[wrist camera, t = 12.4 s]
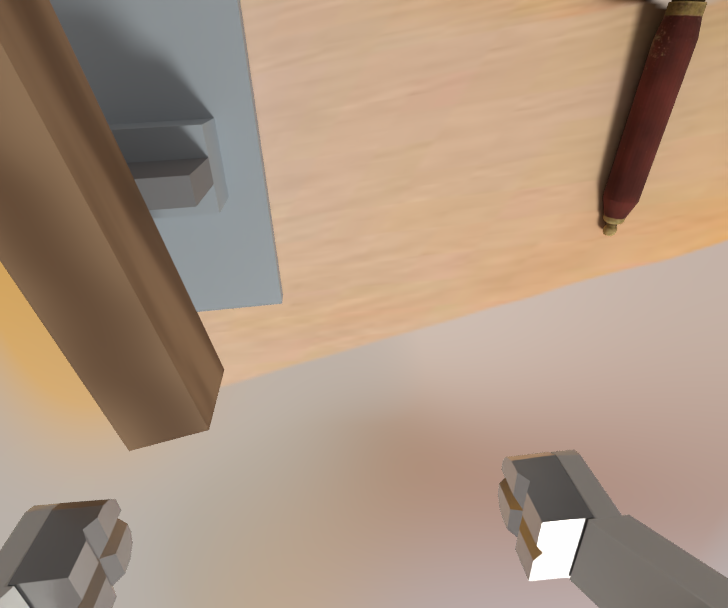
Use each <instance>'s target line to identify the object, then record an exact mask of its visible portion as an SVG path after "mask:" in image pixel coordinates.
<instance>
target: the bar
mask: <svg viewBox="0 0 728 608" xmlns="http://www.w3.org/2000/svg"><path fill="white" fill-rule="evenodd" d="M0 261H1V263H2V264H3V265H4V267H5V269H6V270H7V272H8V273H9V274H10V276H11V277H12V279H13V280H14V282H15V283H16V285H17V286H18V288H19V289H20V290H21V292H22V294H23V295H24V296H25V298H26V300H27V301H28V302H29V304H30V305H31V307H32V308H33V310H34V311H35V313H36V314H37V316H38V317H39V319H40V320H41V322H42V323H43V325H44V326H45V327H46V329H47V330H48V332H49V333H50V335H51V336H52V338H53V339H54V341H55V342H56V344H57V345H58V347H59V348H60V350H61V351H62V353H63V354H64V356H65V357H66V359H67V360H68V361H69V363H70V364H71V366H72V367H73V369H74V370H75V372H76V373H77V375H78V376H79V378H80V379H81V381H82V382H83V384H84V385H85V386H86V388H87V389H88V391H89V392H90V394H91V395H92V397H93V398H94V400H95V401H96V403H97V404H98V406H99V407H100V408H101V410H102V412H103V413H104V415H105V416H106V417H107V419H108V420H109V422H110V423H111V425H112V426H113V428H114V429H115V431H116V432H117V434H118V435H119V437H120V438H121V440H122V441H123V443H124V444H125V445H126V447H127V448H128V450H129V451H131V450H135V449H139V448H142V447H146V446H150V445H154V444H158V443H161V442H165V441H169V440H173V439H176V438H180V437H184V436H187V435H192V434H195V433H199V432H203V431H207V430H209V427H210V423H211V420H212V416H213V412H214V408H215V404H216V400H217V396H218V392H219V388H220V384H221V380H222V376H223V372H224V368H223V366H222V364H221V362H220V360H219V358H218V355H217V353H216V351H215V349H214V347H213V345H212V343H211V341H210V339H209V336H208V334H207V332H206V330H205V328H204V326H203V324H202V322H201V320H200V317H199V315H198V313H197V311H196V309H195V307H194V305H193V303H192V301H191V298H190V296H189V294H188V292H187V290H186V288H185V286H184V284H183V282H182V279H181V277H180V275H179V273H178V271H177V269H176V267H175V265H174V262H173V260H172V258H171V256H170V254H169V252H168V250H167V248H166V246H165V243H164V241H163V239H162V237H161V235H160V233H159V231H158V229H157V227H156V224H155V222H154V220H153V218H152V216H151V214H150V212H149V210H148V208H147V205H146V203H145V201H144V199H143V197H142V195H141V193H140V191H139V189H138V186H137V184H136V182H135V180H134V178H133V176H132V174H131V172H130V169H129V167H128V165H127V163H126V161H125V159H124V157H123V155H122V153H121V150H120V148H119V146H118V144H117V142H116V140H115V138H114V136H113V134H112V131H111V129H110V127H109V125H108V123H107V121H106V119H105V117H104V115H103V112H102V110H101V108H100V106H99V104H98V102H97V100H96V98H95V96H94V93H93V91H92V89H91V87H90V85H89V83H88V81H87V79H86V76H85V74H84V72H83V70H82V68H81V66H80V64H79V62H78V60H77V57H76V55H75V53H74V51H73V49H72V47H71V45H70V43H69V41H68V38H67V36H66V34H65V32H64V30H63V28H62V26H61V24H60V22H59V19H58V17H57V15H56V13H55V11H54V9H53V7H52V5H51V2H50V0H0Z"/></svg>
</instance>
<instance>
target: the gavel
mask: <svg viewBox="0 0 728 608" xmlns="http://www.w3.org/2000/svg"><path fill="white" fill-rule="evenodd" d="M706 5H707V2H705V0H672V2H669V3H668V6H667V9H666V12H665V15H664V18H663V20H662V22H661V24H660V26H659V28H658V30H657V32H656V34H655V36H654V38H653V41H652V45H651V48H650V51H649V54H648V57H647V60H646V63H645V66H644V69H643V73H642V76H641V79H640V82H639V85H638V88H637V91H636V94H635V97H634V101H633V104H632V107H631V110H630V113H629V116H628V119H627V122H626V126H625V129H624V132H623V135H622V138H621V141H620V144H619V147H618V150H617V154H616V157H615V160H614V163H613V166H612V169H611V172H610V175H609V178H608V182H607V185H606V188H605V191H604V194H603V203H604V215H603V220H604V221H605V222H607V223H606V225H605V226H604V228H603V234H605V235H607V236H613V235H614V234H615V233H616V231H617V224H622V223H623V222H624V220H625V218H626V217H627V215H628V214H629V213H630V212H631V210H632V209H633V208H634V207H635V205H636V204H637V203H638V202H639V199H640V196H641V194H642V191H643V188H644V185H645V183H646V180H647V177H648V174H649V172H650V169H651V166H652V163H653V161H654V158H655V155H656V152H657V150H658V147H659V144H660V142H661V139H662V136H663V133H664V131H665V128H666V125H667V122H668V120H669V117H670V114H671V111H672V109H673V106H674V103H675V100H676V98H677V95H678V92H679V90H680V87H681V84H682V81H683V79H684V76H685V73H686V70H687V68H688V65H689V62H690V59H691V57H692V54H693V51H694V49H695V46H696V43H697V40H698V36H699V31H700V26H701V21H702V16H703V13H704V10H705V8H706Z"/></svg>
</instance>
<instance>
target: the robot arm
mask: <svg viewBox="0 0 728 608" xmlns="http://www.w3.org/2000/svg"><path fill="white" fill-rule="evenodd" d="M502 471H503V474H504V475H505V479H503V481H502V482H500V483H499V491H498V497H499V506H500V510H501V514H502V518H503V520H504V523H505V525H506V528H507V529H508V530H509V531H510V532H511V533H513V534H514V535H515V536H516V537H518V538H517V543H516V549H515V550H516V552H517V554H518V556H519V559H520V561H521V564H522V566H523V569H524V571H525V573H526V576H527V578H528V580H529V581H533V580H544V579H555V578H565V577H570V580H571V581H572V582H573V583H574V584H575V585H576V586H577V587H578V588H579V589H580V590H581V591H582V592H583V593H584V594H585V595H586V596H587V597H589V598H590V599H591V600H592V601H593V602H594V603H595V604H596V605H597V606H598V607H599V608H728V578H726V577H725V576H723V575H722V574H720V573H718V572H717V571H715V570H714V569H713V568H711V567H709V566H708V565H706V564H705V563H703V562H702V561H700V560H699V559H697V558H695V557H694V556H692V555H691V554H689V553H688V552H686V551H685V550H683V549H682V548H680V547H678V546H677V545H675V544H674V543H672V542H671V541H669V540H668V539H666V538H664V537H663V536H661V535H660V534H658V533H656V532H655V531H653V530H652V529H650V528H649V527H647V526H646V525H644V524H643V523H641V522H640V521H638V520H636V519H635V518H633V517H632V516H630V515H621V513H620V512H619V511H618V509H617V507H616V506H615V504H614V503H613V502H612V500H611V499H610V497H609V496H608V494H607V493H606V491H605V490H604V489H603V487H602V486H601V484H600V483H599V482H598V480H597V478H596V477H595V476H594V474H593V473H592V471H591V470H590V468H589V467H588V465H587V464H586V463H585V461H584V460H583V458H582V457H581V455H580V454H579V453H578V452H577V451H575V450H566V451H556V452H544V453H535V454H527V455H518V456H510V457H506V458H505V459H504V460H503V464H502ZM120 512H121V509H120V507H119V505H118V503H117V501H116V499H108V500H95V501H84V502H83V501H82V502H70V503H59V504H48V505H37V506H33V507H32V508H30V509H29V510H28V511H27V512H26V513H25V514H24V515H23V516H22V518H21V520H20V521H19V523H18V524H17V526H16V527H15V529H14V530H13V532H12V533H11V535H10V537H9V538H8V540H7V541H6V542H5V544H4V546H3V547H2V549H1V550H0V608H112V607H113V605H114V602H115V599H116V594H115V591H114V588H113V585H114V584H115V583H116V582H117V581H118V580H119V579H120V578H121V577H122V576H123V575H124V574H125V573H126V570H127V567H128V564H129V561H130V557H131V551H132V543H133V542H132V535H131V530H130V528H129V526H128V524H127V523H125V522H123V521H122V520H120V519H118V516H119V514H120Z"/></svg>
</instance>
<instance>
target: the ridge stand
mask: <svg viewBox="0 0 728 608" xmlns="http://www.w3.org/2000/svg"><path fill="white" fill-rule="evenodd" d="M50 2H51V5H52V7H53V9H54V11H55V13H56V15H57V17H58V19H59V22H60V24H61V26H62V28H63V30H64V32H65V34H66V36H67V38H68V41H69V43H70V45H71V47H72V49H73V51H74V53H75V55H76V57H77V60H78V62H79V64H80V66H81V68H82V70H83V72H84V74H85V76H86V79H87V81H88V83H89V85H90V87H91V89H92V91H93V93H94V96H95V98H96V100H97V102H98V104H99V106H100V108H101V110H102V112H103V115H104V117H105V119H106V121H107V123H108V125H109V127H110V129H111V131H112V134H113V136H114V138H115V140H116V142H117V144H118V146H119V148H120V150H121V153H122V155H123V157H124V159H125V161H126V163H127V165H128V167H129V169H130V172H131V174H132V176H133V178H134V180H135V182H136V184H137V186H138V189H139V191H140V193H141V195H142V197H143V199H144V201H145V203H146V205H147V208H148V210H149V212H150V214H151V216H152V218H153V220H154V222H155V224H156V227H157V229H158V231H159V233H160V235H161V237H162V239H163V241H164V243H165V246H166V248H167V250H168V252H169V254H170V256H171V258H172V260H173V262H174V265H175V267H176V269H177V271H178V273H179V275H180V277H181V279H182V282H183V284H184V286H185V288H186V290H187V292H188V294H189V296H190V298H191V301H192V303H193V305H194V307H195V309H196V311H197V312H200V311H211V310H221V309H231V308H241V307H251V306H262V305H272V304H282V299H283V293H282V286H281V279H280V272H279V266H278V259H277V252H276V245H275V238H274V231H273V224H272V217H271V211H270V204H269V197H268V190H267V183H266V176H265V169H264V163H263V156H262V149H261V142H260V135H259V128H258V121H257V115H256V108H255V101H254V94H253V87H252V80H251V73H250V67H249V60H248V53H247V46H246V39H245V32H244V25H243V18H242V12H241V5H240V0H50Z"/></svg>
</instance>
